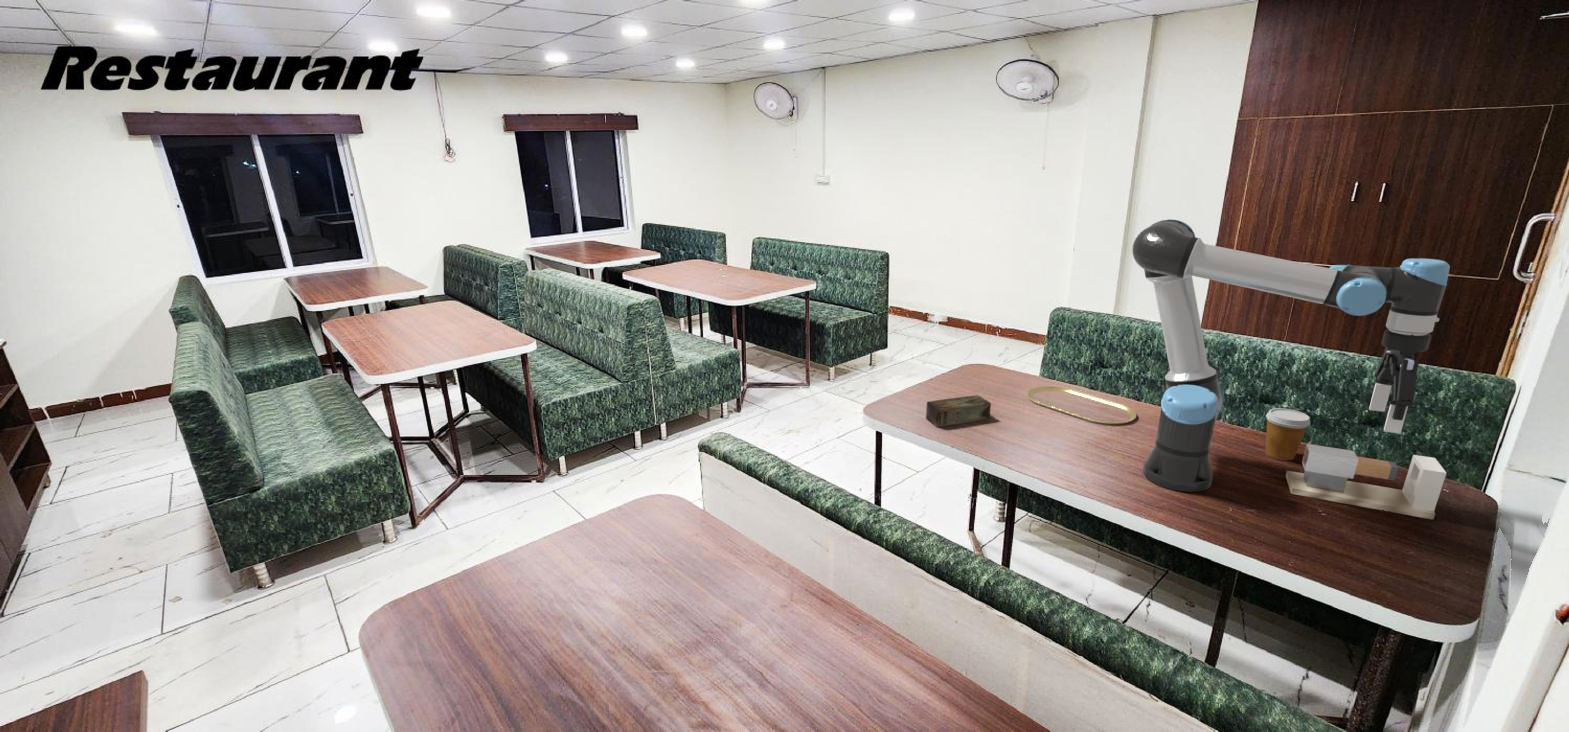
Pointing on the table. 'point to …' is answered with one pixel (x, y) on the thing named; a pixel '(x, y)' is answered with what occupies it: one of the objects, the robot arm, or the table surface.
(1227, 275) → the robot arm
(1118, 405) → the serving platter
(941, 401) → the beverage carton
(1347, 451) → the sleeve
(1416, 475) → the socket block
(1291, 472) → the bench board
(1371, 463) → the brown wooden bar
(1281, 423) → the disposable coffee cup
